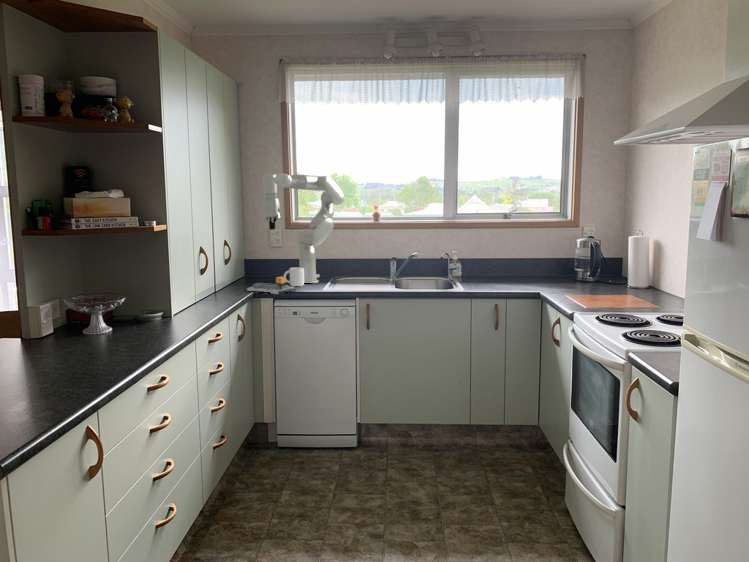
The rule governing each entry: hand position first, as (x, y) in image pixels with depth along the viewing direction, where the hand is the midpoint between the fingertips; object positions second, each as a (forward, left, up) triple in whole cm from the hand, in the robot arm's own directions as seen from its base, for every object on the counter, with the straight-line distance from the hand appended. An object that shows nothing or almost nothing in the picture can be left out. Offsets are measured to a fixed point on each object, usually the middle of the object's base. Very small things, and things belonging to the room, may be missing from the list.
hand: (272, 229), depth 339 cm
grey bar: (+12, +18, -33) cm, 39 cm away
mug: (-8, +8, -33) cm, 35 cm away
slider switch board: (+12, +7, -33) cm, 36 cm away
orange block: (+12, +14, -31) cm, 36 cm away
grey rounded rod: (+12, -5, -33) cm, 35 cm away
